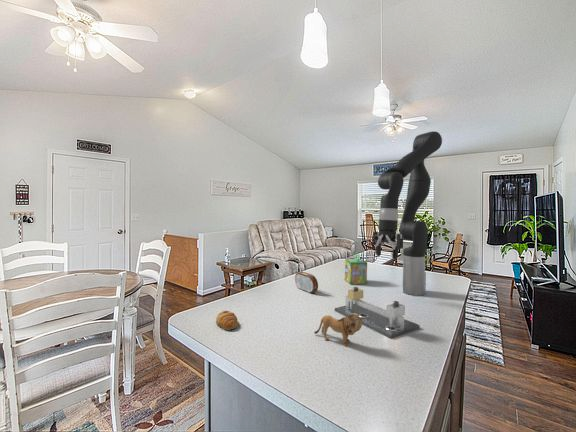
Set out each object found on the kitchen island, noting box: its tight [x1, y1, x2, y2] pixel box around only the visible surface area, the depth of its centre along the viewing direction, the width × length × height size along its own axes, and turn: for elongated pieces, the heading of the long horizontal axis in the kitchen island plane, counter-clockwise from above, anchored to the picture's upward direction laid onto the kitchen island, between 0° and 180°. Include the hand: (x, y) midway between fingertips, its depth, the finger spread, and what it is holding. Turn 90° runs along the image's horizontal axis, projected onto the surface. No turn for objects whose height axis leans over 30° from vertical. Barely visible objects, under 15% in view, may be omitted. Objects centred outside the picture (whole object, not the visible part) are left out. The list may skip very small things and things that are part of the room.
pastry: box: [215, 310, 239, 331], centre depth 94 cm, size 9×7×4 cm
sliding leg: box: [347, 286, 364, 309], centre depth 105 cm, size 5×3×8 cm, turn 120°
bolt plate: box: [334, 303, 421, 339], centre depth 99 cm, size 14×26×1 cm, turn 30°
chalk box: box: [344, 253, 368, 285], centre depth 147 cm, size 9×9×15 cm
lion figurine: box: [313, 313, 363, 347], centre depth 83 cm, size 15×5×9 cm, turn 62°
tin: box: [294, 270, 319, 294], centre depth 132 cm, size 15×3×8 cm, turn 34°
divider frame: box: [345, 295, 406, 331], centre depth 98 cm, size 5×25×8 cm, turn 30°
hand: (386, 256), depth 119 cm, fingers open, 8 cm apart
